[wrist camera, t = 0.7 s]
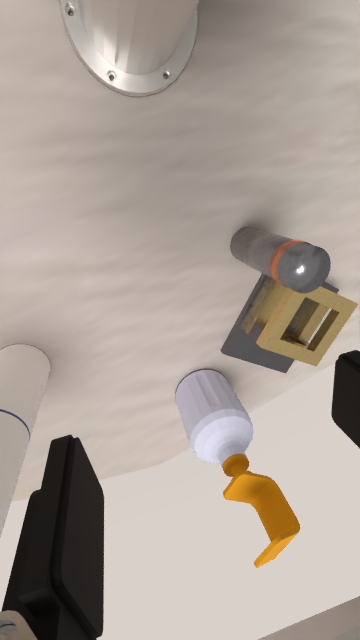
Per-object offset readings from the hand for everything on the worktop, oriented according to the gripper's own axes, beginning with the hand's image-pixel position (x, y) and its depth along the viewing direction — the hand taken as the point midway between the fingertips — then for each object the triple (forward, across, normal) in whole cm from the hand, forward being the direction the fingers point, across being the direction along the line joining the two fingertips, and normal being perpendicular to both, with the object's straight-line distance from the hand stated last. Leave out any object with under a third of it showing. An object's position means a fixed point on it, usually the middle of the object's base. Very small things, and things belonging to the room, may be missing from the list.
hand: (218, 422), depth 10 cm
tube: (+30, -15, +2) cm, 34 cm away
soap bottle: (+31, -5, +25) cm, 40 cm away
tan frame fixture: (+30, -19, +15) cm, 39 cm away
